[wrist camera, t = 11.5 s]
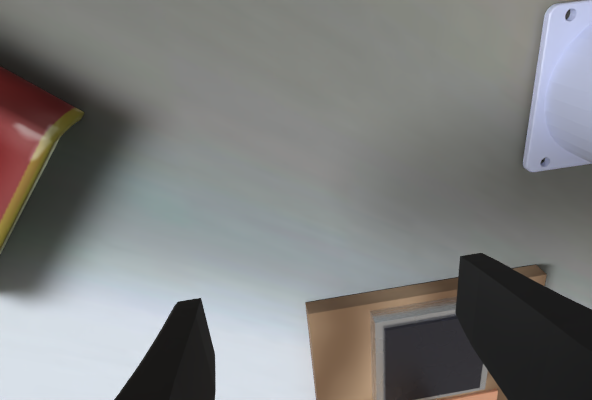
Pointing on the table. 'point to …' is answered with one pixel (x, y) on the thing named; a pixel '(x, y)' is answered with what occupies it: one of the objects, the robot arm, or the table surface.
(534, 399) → the robot arm
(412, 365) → the ink pad
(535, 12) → the table surface
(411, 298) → the board
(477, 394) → the square coaster
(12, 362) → the table surface
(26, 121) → the hardcover book
